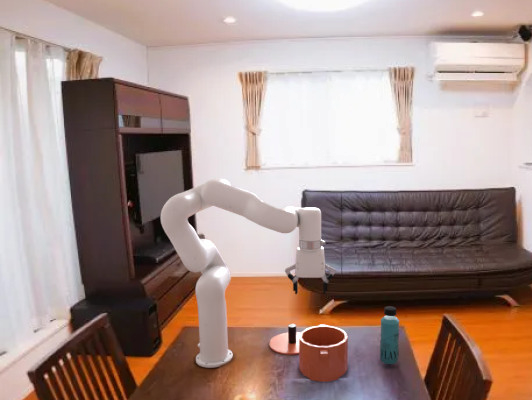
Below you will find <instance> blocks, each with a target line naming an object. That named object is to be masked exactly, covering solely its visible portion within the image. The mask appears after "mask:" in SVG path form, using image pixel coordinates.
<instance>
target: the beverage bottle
mask: <svg viewBox="0 0 532 400" xmlns="http://www.w3.org/2000/svg"><path fill="white" fill-rule="evenodd" d="M383 314H384V316H383V317H381V319H380V340H379V343H380V344H379V359H380V361H381V362H382V363H384V364H387V365H394V364H396V363H398V361H399V358H400V357H399V355H400V352H399V348H400V347H399V346H400V344H399V343H400V341H399V340H400V319H399V318H398V317H397V308H396V307H395V306H391V305H389V306H388V305H387V306H385V307H384V310H383Z"/></svg>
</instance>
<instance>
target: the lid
mask: <svg viewBox="0 0 532 400" xmlns="http://www.w3.org/2000/svg"><path fill="white" fill-rule="evenodd" d="M301 332H302V331H297V324H296V323H289V324H288V326H287V332H283V333H278V334H276V335H274V336H273V337H271V339H270V340H269V344H268V345H269V348H270V350H272V351H274V352H275V353H277V354H281V355H285V356H286V355H287V356H295V355H299V334H300V333H301Z"/></svg>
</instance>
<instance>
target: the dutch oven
mask: <svg viewBox="0 0 532 400" xmlns="http://www.w3.org/2000/svg"><path fill="white" fill-rule="evenodd" d="M300 332H301V333H300V334H299V354H298V355H299V357H298V358H299V359H298V360H299V364H298V365H299V366H298V367H299V368H298V369H299V371H300V373H301V374H302V375H303V376H305V377H306V378H307V379H308V380H311V381H314V382H320V383H323V382H324V383H325V382H328V383H329V382H334V381H337V380H339V379H340V378H341V377H342V376H344V375H345V374H346V372H347V371H348V367H349V366H348V365H349V364H348V362H349V361H348V358H349V355H348V354H349V337H348V332H346V331H345V330H344V329H342V328H339V327H337V326H333V325H327V324H326V323H322V324H321V323H319V325H314V326H310V327H307V328H305V329H303V330H302V331H300Z"/></svg>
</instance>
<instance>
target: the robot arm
mask: <svg viewBox="0 0 532 400" xmlns="http://www.w3.org/2000/svg"><path fill="white" fill-rule="evenodd" d="M211 207H216V208H218V209H222V210H225V211H227V212H229V213H232V214H236V215H238V216H241V217H243V218H245V219H246V220H248V221H250V222H252V223H254V224H257V225H258V226H261V227H263V228H266V229H268V230H271V231H274V232H277V233H280V234H290V233H292V232H293V231H295V230H296V228H298V246H297V247H296V253H295V263H294V264H291V265H290V266H288V267H286V268H285V270H284V272H285V274H286V276H287V278H288V279H289V280H290V281H291V283H292V291H293V292H294V294H295V295H298V291H299V285H298V284H299V282H298V280H299V279H300V278H301V279H308V278H309V279H318V278H321V279H322V282H323V283H322V285H323V287H322V288H323V289H322V292H323V293H322V294H323V295H326V292H328V284H329V282H330V281H331V279H333V278H334V275H335V273H336V272H337V270H336V268H334V267H333V266H331V265H329V264H327V263H326V254H325V248H324V246H326V240H323V239H322V211H321V209H320V208H318V207H311V206H310V207H296V206H289V205H287V206H283V207H281V208H280V207H277V206H274V205H271V204H269V203H267V202H265V201H263V200H262V199H260V198H259V197H258V196H257V194H255V193H253V192H252V191H249V190H246V189H244V188H240V187H238V186H236V185H232V184H231V183H230V182H229V181H228V180H227V179H226V178H222V177H215V178H213V179H210V180H207V181H206V182H204V183H203V184H200V185H198V186H195V187H192V188H190V189H188V190H184V191H182V192H179V193H176V194H174V195H173V196H171V197H170V198H169V199H168V200H166V202H165V203H164V205H163V207H162V209H161V211H160V224H161V226H162V229H163V231H164V233H165V235H166V236H167V237H168V239H169V240H170V243H171V244H172V246H173V248H174V250H175V252H176V254H177V255H178V257H179V258H180V260H181V262H182V264H183V266H184V267H185V269H186V270H187V271H189V272H190V273H199V272H200V273H201V276H200V277H199V278H198V280H197V281H196V284H195V290H194V291H195V298H196V305H197V314H198V315H197V316H198V318H197V319H198V334H199V335H198V338H199V343H198V344H197V345H196V346H197V347H198V348H199V353H197V355H196V356H195V363H196V364H197V365H198V366H199V367H202V368H207V369H212V368H219V367H221V366H224V365H226V364H228V363H229V362H230V361H232V360H233V357H234V355H233V351H232V350H231V349H229V341H228V340H229V337H228V313H227V312H228V311H227V309H228V308H227V300H226V290H227V288H228V286H229V285H230V283H231V280H232V274H231V271H230V269H229V267H228V265H227V264H226V263H227V262H225V260H224V257H222V254H221V253H220V251H219V249H218V248H217V246H216V245H215V244H214V243H213V242H212V241H211V240H209V239H206V238H200V237H199V236H198V233H197V231H196V230H195V228H194V227H193V226H192V225H191V224H190V223H189V218H190V217H192V216H193V215H195V214H197V213H199V212H201V211H204V210H207V209H209V208H211ZM293 270H295V271H294V272H295V273H294V274H295V275H293V274H292V273H291V272H292V271H293ZM326 270H327V271H329V273H328V275H326Z"/></svg>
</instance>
